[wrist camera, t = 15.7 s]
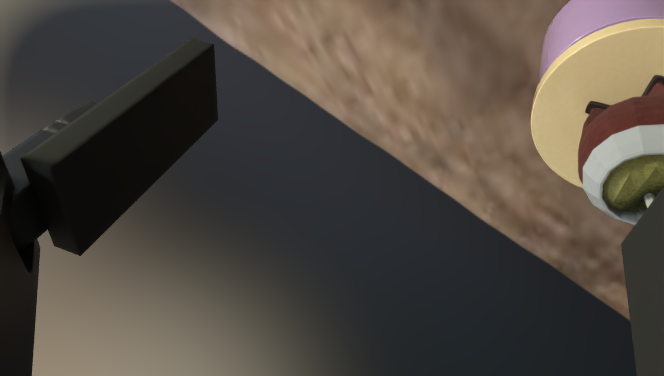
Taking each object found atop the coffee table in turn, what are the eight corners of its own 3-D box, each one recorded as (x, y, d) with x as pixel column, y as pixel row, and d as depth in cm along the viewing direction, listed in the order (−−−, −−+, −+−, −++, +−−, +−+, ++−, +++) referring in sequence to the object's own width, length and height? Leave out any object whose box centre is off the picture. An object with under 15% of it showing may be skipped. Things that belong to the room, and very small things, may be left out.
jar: (573, -46, 38) (576, 4, 30) (753, -9, 36) (810, 57, 28) (516, 96, 47) (505, 166, 38) (658, 133, 44) (681, 217, 36)
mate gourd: (605, 55, 31) (627, 205, 20) (743, 88, 30) (847, 269, 19) (557, 150, 36) (553, 312, 25) (673, 182, 35) (723, 370, 24)
